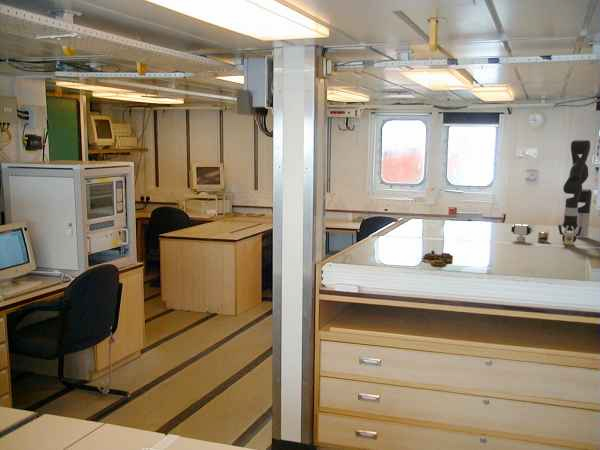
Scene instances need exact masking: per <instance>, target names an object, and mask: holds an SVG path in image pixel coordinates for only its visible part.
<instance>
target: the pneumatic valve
mask: <svg viewBox="0 0 600 450" xmlns="http://www.w3.org/2000/svg"><path fill="white" fill-rule="evenodd" d="M532 230H533V227H532V226H530V225H529V224H523V223H519V224H518V223H517V224H516V223H515V224H513V225H512V226H511V230H510V231H511V233H513V235H517V236H516V241H517V242H518V243H524V242H526V237H525V236H529V235H531V234H532V232H533V231H532Z"/></svg>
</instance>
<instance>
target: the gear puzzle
mask: <svg viewBox="0 0 600 450" xmlns="http://www.w3.org/2000/svg"><path fill="white" fill-rule="evenodd" d="M453 257H454V255H452V254H450V253H449V252H448V253H447V252H441V253H440V254H437V253H436V251H435V250H431V252H428V253H426V254H424V255H423V256H422V260H421V262H422V263H423V264H424V263H425V264H430V265H432V266H438V267H445V266H447V265H453V262H454V261H453V259H454V258H453Z"/></svg>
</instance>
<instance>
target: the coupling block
mask: <svg viewBox="0 0 600 450" xmlns="http://www.w3.org/2000/svg"><path fill="white" fill-rule="evenodd" d="M573 240H574V233H573V231H567V232H566V233H565V240H564V244H563V245H566V244H572V245H574V243H575V242H573ZM572 245H571V246H572Z"/></svg>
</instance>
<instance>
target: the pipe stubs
mask: <svg viewBox="0 0 600 450" xmlns="http://www.w3.org/2000/svg"><path fill="white" fill-rule="evenodd" d="M549 233H550V232H549V231H548V230H547V232H545V231H544V232H543V231H539V232H538V236H537V243H542V242H546V243H548V241H549V236H550V234H549ZM561 242H562V243H563V245H567V246H568V245H569V246H572V244H564V241H563V237H562V241H561Z"/></svg>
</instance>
